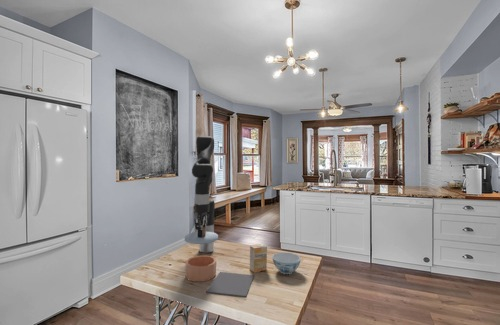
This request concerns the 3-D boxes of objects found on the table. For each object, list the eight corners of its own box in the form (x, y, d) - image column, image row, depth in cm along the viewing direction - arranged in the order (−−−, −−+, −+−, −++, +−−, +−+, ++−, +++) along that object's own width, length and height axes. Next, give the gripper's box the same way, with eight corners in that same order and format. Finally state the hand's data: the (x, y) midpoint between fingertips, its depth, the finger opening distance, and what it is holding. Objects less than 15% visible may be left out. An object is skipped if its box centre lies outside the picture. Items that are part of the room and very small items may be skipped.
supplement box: (253, 273, 127) (253, 248, 127) (249, 269, 131) (249, 245, 131) (267, 270, 131) (267, 246, 131) (262, 266, 135) (262, 243, 135)
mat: (220, 272, 126) (220, 271, 126) (253, 276, 123) (253, 275, 123) (206, 292, 107) (206, 291, 107) (245, 297, 103) (246, 295, 103)
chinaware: (305, 271, 129) (306, 257, 129) (290, 281, 118) (290, 265, 118) (282, 263, 140) (283, 250, 140) (266, 271, 129) (266, 257, 129)
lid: (193, 232, 135) (193, 222, 135) (222, 234, 131) (222, 224, 131) (178, 242, 118) (178, 230, 118) (211, 245, 115) (211, 233, 115)
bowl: (193, 267, 133) (193, 254, 133) (219, 269, 130) (219, 256, 130) (180, 279, 118) (180, 265, 118) (209, 283, 115) (209, 268, 116)
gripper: (200, 200, 132) (200, 231, 132) (189, 204, 118) (188, 239, 118) (213, 200, 131) (213, 232, 131) (203, 205, 117) (203, 240, 117)
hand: (201, 235), depth 125 cm, fingers closed on lid, 4 cm apart
